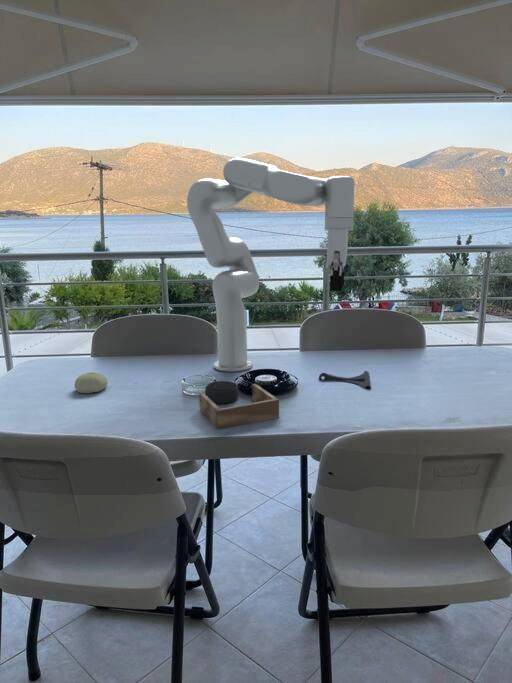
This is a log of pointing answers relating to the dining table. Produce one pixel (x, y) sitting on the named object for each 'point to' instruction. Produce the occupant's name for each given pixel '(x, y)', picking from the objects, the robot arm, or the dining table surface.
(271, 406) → the box
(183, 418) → the dining table surface
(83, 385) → the sea urchin shell
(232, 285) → the robot arm
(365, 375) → the bracket
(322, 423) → the dining table surface
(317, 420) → the dining table surface
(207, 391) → the smart speaker
